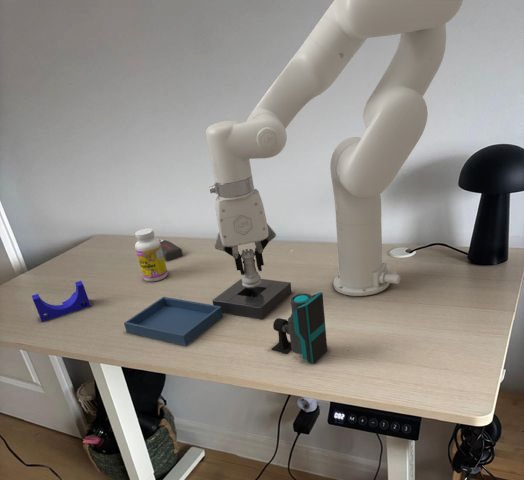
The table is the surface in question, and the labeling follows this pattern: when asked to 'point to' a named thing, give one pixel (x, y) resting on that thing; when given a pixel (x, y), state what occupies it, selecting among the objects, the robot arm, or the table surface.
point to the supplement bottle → (150, 255)
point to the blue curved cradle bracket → (70, 305)
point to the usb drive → (170, 250)
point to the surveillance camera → (303, 328)
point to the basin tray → (174, 320)
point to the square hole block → (258, 307)
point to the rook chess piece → (250, 270)
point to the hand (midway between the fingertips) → (250, 269)
